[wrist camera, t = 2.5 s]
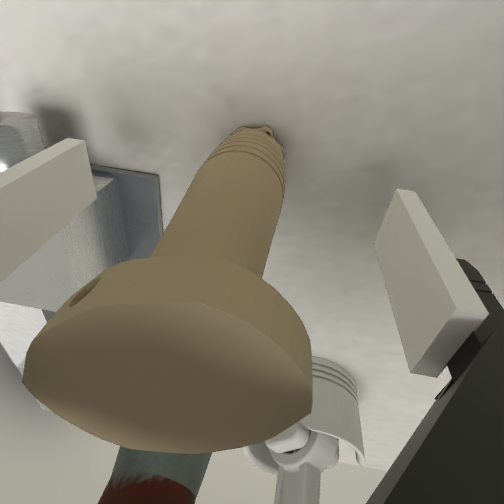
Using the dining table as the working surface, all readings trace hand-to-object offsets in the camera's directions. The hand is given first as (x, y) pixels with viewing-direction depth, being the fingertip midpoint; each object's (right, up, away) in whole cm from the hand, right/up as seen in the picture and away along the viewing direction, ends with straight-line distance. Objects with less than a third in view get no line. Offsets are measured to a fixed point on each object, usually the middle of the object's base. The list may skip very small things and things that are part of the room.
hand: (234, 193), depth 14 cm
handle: (+1, +3, +5) cm, 6 cm away
